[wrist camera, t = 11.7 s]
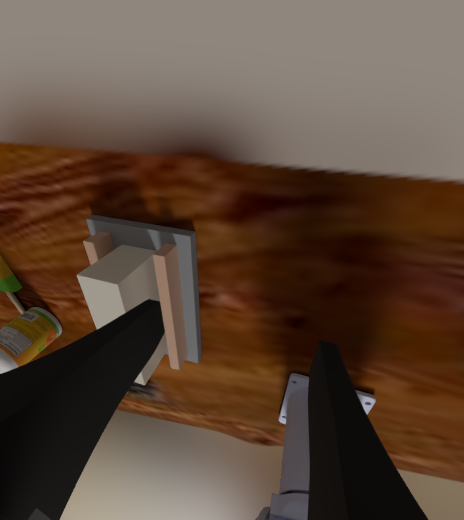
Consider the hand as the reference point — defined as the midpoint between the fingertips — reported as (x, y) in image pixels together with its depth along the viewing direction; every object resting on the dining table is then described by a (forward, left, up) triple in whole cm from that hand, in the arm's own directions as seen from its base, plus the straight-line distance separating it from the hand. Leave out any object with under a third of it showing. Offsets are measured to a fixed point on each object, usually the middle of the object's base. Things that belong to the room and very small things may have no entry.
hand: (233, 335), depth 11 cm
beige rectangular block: (-8, +11, -8) cm, 16 cm away
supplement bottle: (-18, +30, -10) cm, 36 cm away
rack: (-8, +11, -9) cm, 17 cm away
